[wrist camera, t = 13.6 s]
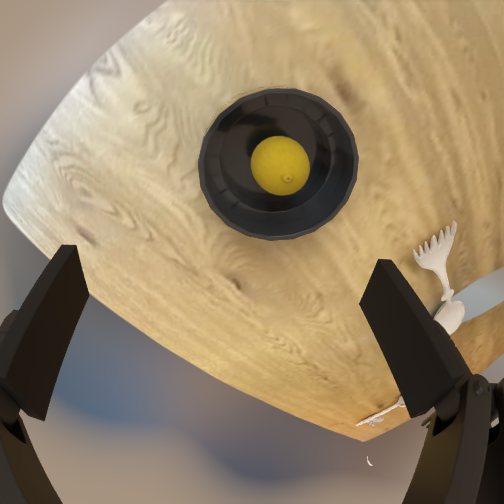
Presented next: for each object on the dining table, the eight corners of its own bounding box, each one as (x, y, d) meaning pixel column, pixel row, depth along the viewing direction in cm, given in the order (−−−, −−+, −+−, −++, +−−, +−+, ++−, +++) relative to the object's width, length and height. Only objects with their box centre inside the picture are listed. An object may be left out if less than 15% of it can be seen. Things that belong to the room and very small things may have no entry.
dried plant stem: (361, 424, 80) (464, 364, 68) (371, 469, 63) (487, 407, 51) (347, 413, 76) (460, 347, 64) (357, 464, 59) (487, 394, 47)
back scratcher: (446, 210, 36) (459, 221, 33) (461, 315, 52) (468, 325, 49) (402, 241, 39) (413, 254, 36) (431, 336, 54) (437, 347, 51)
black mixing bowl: (175, 146, 29) (164, 161, 24) (286, 60, 25) (300, 56, 20) (259, 236, 36) (265, 265, 31) (358, 166, 32) (381, 184, 27)
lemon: (247, 177, 31) (253, 208, 25) (249, 129, 28) (256, 145, 22) (296, 179, 32) (315, 209, 25) (300, 131, 29) (323, 148, 22)
